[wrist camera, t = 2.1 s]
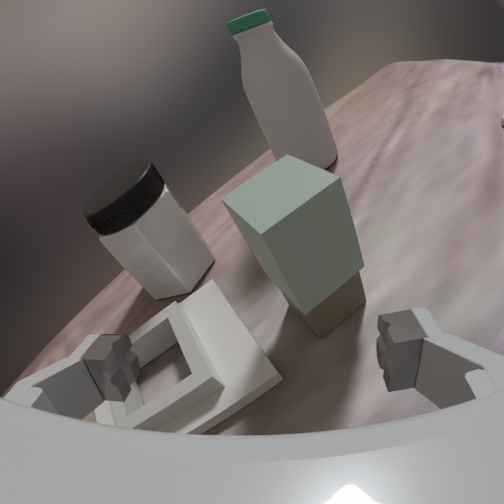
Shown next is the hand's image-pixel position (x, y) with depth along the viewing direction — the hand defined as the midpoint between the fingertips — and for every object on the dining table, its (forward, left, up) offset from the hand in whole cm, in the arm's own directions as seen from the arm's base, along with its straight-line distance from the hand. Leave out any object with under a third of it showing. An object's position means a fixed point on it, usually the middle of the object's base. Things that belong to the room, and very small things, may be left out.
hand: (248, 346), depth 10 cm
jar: (+3, -23, -12) cm, 26 cm away
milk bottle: (-18, -26, -12) cm, 34 cm away
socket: (+8, -11, -12) cm, 18 cm away
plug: (-6, -8, -12) cm, 15 cm away
